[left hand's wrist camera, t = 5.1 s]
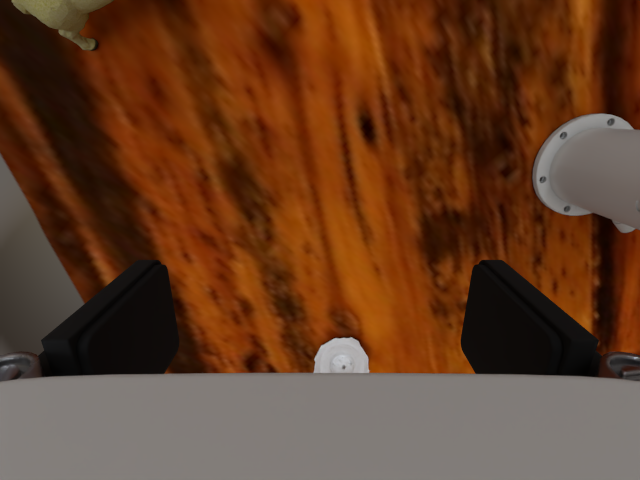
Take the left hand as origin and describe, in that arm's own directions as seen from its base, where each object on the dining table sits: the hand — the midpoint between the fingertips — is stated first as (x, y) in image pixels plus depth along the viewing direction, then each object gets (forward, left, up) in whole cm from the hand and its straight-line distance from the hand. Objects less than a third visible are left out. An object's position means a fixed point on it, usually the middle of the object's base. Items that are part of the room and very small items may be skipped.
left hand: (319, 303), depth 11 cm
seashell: (-23, +20, -36) cm, 47 cm away
